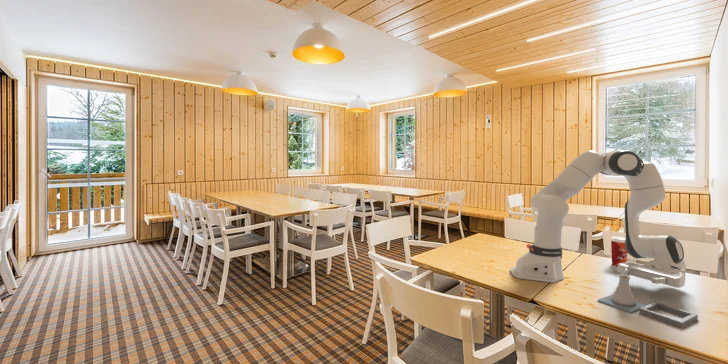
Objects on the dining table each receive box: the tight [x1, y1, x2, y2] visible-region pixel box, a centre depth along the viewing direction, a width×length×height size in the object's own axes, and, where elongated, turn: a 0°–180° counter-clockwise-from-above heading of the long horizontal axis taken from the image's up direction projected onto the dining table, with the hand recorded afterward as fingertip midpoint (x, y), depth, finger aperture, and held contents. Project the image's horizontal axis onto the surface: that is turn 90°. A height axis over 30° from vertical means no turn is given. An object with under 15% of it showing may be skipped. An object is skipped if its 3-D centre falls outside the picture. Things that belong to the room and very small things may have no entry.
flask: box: [611, 274, 637, 306], centre depth 122 cm, size 7×7×10 cm
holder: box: [639, 301, 699, 329], centre depth 113 cm, size 11×11×2 cm
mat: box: [597, 294, 648, 314], centre depth 123 cm, size 11×11×1 cm
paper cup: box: [609, 236, 629, 268], centre depth 165 cm, size 8×8×14 cm
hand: (639, 277), depth 127 cm, fingers open, 8 cm apart
